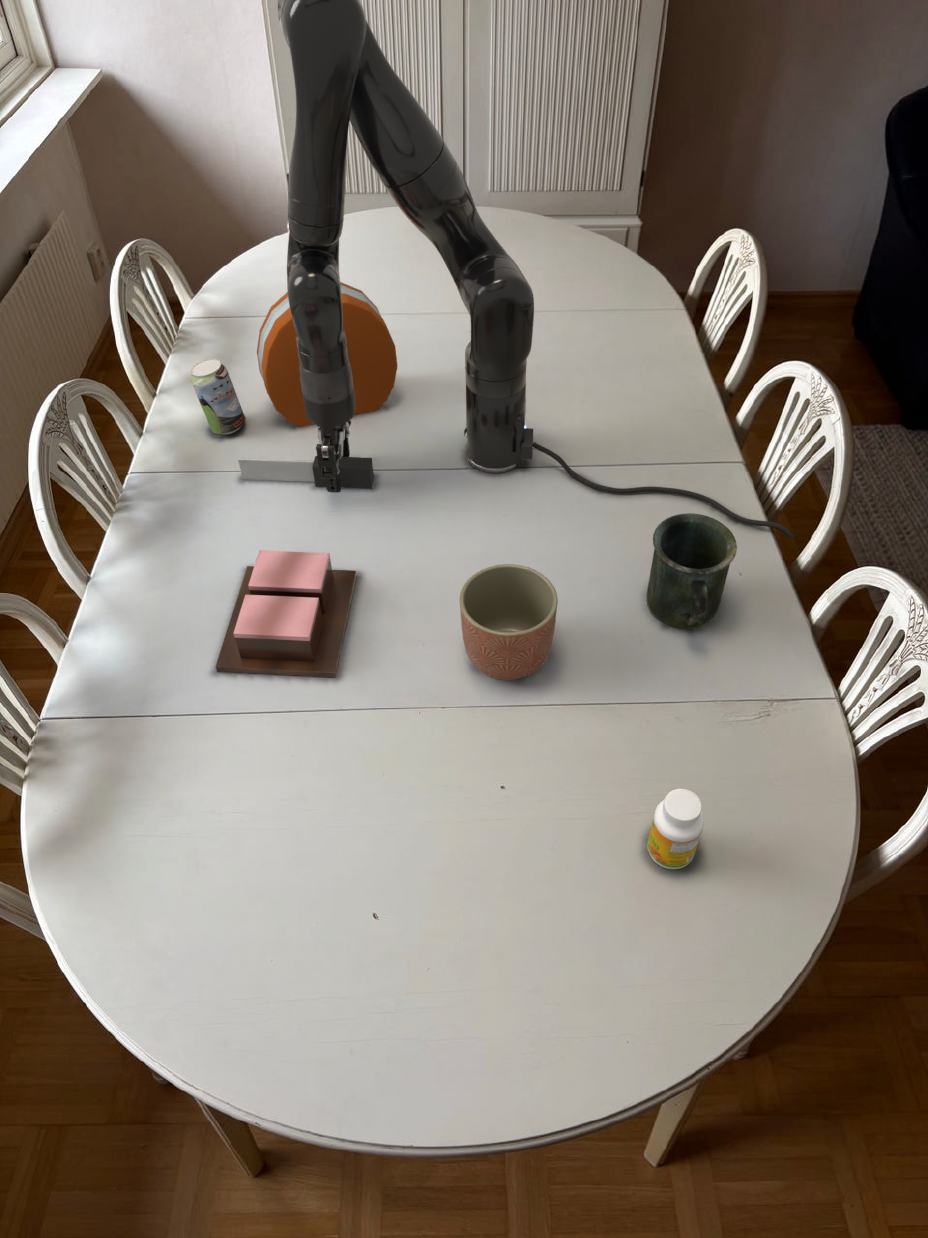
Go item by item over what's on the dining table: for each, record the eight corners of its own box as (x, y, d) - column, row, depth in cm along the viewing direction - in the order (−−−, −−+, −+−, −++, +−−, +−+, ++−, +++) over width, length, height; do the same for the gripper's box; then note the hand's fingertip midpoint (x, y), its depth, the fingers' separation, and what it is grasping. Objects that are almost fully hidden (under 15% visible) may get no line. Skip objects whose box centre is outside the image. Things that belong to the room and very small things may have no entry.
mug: (714, 574, 143) (729, 511, 134) (731, 652, 133) (749, 590, 125) (638, 575, 143) (648, 512, 134) (650, 652, 134) (662, 591, 125)
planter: (447, 636, 136) (444, 580, 128) (529, 608, 139) (531, 552, 131) (484, 702, 129) (483, 647, 120) (569, 671, 132) (575, 616, 124)
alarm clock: (386, 374, 178) (375, 254, 161) (401, 405, 172) (392, 284, 155) (264, 399, 174) (240, 279, 157) (275, 432, 167) (251, 310, 151)
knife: (374, 477, 159) (371, 457, 156) (371, 488, 157) (369, 469, 154) (244, 472, 160) (240, 453, 158) (241, 484, 159) (236, 464, 156)
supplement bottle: (642, 830, 116) (652, 784, 108) (688, 826, 116) (701, 780, 109) (652, 872, 112) (663, 828, 105) (699, 868, 112) (714, 824, 105)
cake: (356, 575, 144) (352, 545, 140) (335, 677, 132) (329, 648, 127) (248, 570, 146) (240, 540, 141) (216, 671, 133) (207, 642, 128)
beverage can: (239, 441, 166) (225, 379, 157) (198, 436, 167) (181, 375, 158) (252, 418, 170) (239, 357, 161) (211, 413, 171) (196, 353, 162)
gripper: (345, 416, 140) (355, 504, 152) (360, 359, 150) (368, 446, 162) (292, 414, 140) (307, 502, 153) (310, 357, 150) (323, 444, 162)
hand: (339, 473), depth 157 cm, fingers open, 8 cm apart
